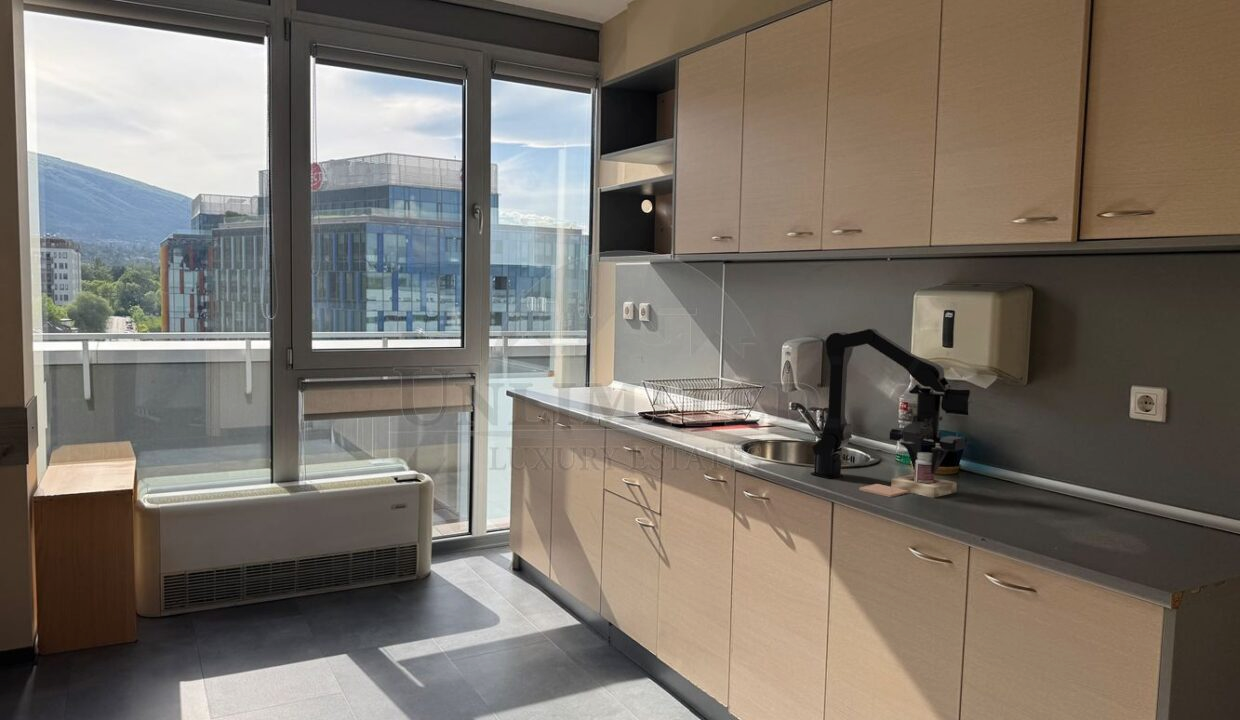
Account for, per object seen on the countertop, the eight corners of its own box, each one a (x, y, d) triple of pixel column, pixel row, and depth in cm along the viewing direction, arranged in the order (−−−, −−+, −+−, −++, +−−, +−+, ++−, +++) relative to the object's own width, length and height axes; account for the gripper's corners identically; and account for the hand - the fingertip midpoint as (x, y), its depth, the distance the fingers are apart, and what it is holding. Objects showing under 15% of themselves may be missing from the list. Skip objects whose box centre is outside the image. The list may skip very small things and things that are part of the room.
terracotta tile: (859, 489, 217) (859, 487, 217) (877, 486, 222) (877, 483, 222) (890, 497, 210) (890, 494, 210) (907, 492, 215) (907, 490, 215)
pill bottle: (937, 486, 218) (939, 454, 217) (922, 487, 216) (924, 455, 215) (924, 482, 222) (926, 451, 221) (909, 483, 220) (911, 451, 220)
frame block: (891, 488, 220) (891, 478, 220) (914, 483, 227) (914, 473, 227) (933, 497, 211) (933, 487, 211) (956, 492, 218) (956, 482, 218)
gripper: (878, 409, 219) (875, 468, 221) (945, 419, 205) (941, 482, 206) (902, 406, 226) (899, 463, 228) (968, 416, 212) (964, 477, 213)
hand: (924, 471), depth 219 cm, fingers closed on pill bottle, 5 cm apart
